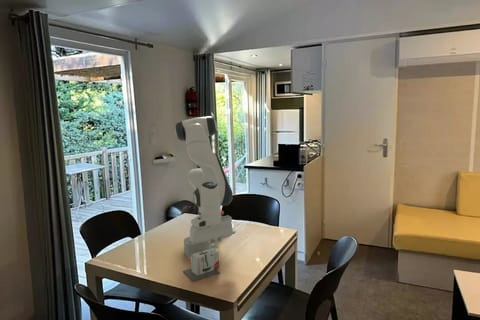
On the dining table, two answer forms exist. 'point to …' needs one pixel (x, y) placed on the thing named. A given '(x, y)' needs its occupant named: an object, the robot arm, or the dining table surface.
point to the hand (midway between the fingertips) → (212, 248)
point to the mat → (195, 277)
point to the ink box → (205, 261)
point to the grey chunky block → (194, 247)
